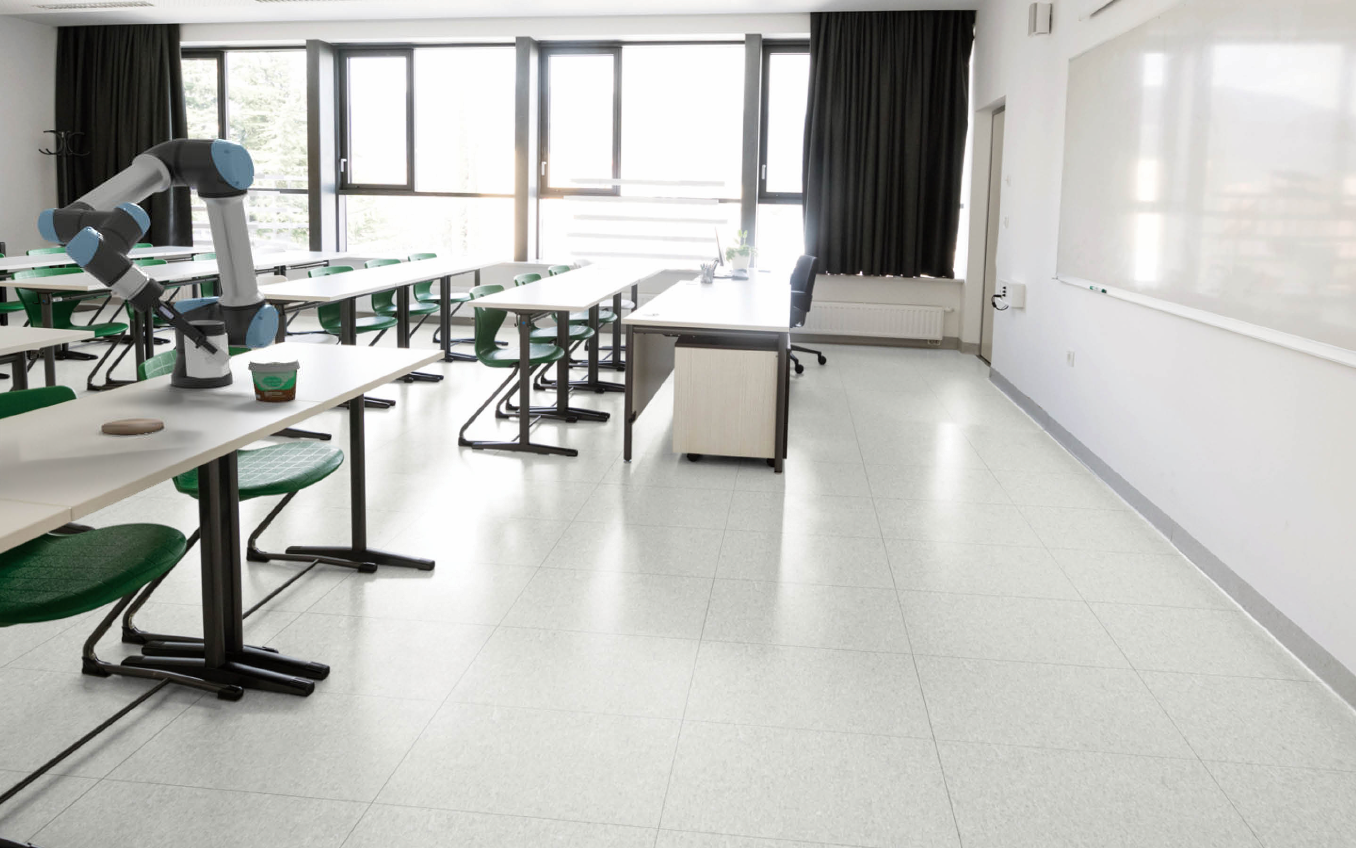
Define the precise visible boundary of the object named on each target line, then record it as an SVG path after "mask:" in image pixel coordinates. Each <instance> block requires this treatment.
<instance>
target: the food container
mask: <svg viewBox="0 0 1356 848" xmlns="http://www.w3.org/2000/svg"><path fill="white" fill-rule="evenodd" d="M247 369H248V370H249V371H251V378H252V384H253V388H254V394H255V400H256V401H257V402H261V403H269V404H270V403H273V404H275V403H277V404H278V403H286V402H292V401H294V400H295V399H296V395H297V394H296V393H297V392H296V391H297V380H298V379H297V377H298V370H299V369H301V365H300V362H299V361H298V359H296V360H295V361H291V362H279V361H278V362H277V361H275V362H274V361H273V362H272V361H271V362H267V363H260V362H253V361H251V360H249V363H248V368H247ZM291 400H292V401H291Z"/></svg>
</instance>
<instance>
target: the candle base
mask: <svg viewBox="0 0 1356 848" xmlns="http://www.w3.org/2000/svg"><path fill="white" fill-rule="evenodd" d="M164 428H165V424H164V421H162V420H159V419H156V418H155V419H154V418H130V419H129V418H126V419H119V420H114V421H109V422H106V423H104V424H102V425H101V432H102V433H103V434H105V435H109V436H111V435H112V436H138V434H141V435H146V434H145V433H148V434H152V432H153V433H157V432H160V431H162V430H163V429H164ZM161 429H162V430H161ZM159 430H160V431H159ZM156 431H157V432H156Z"/></svg>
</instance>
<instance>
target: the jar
mask: <svg viewBox="0 0 1356 848" xmlns="http://www.w3.org/2000/svg"><path fill="white" fill-rule="evenodd" d="M188 323H189V324H190V325H192V326H193V327H194V328H195V329H197V330H198V331H199V332H200V333H201V334H203V335H205V336H206V337H207V338H209V339H210V340H211V341H212V342H213V343H215V344H216V345H217V346H218V347H220V348H221V349H222V350H223V351H224V352H226V353H227V354H228V355H229V347H228V338H227V333H225V323H224V322H223V321H217V320H198V321H189V322H188ZM199 337H200V336H199ZM199 337H198V338H199ZM198 338H197V339H198ZM197 339H196V340H197ZM184 343H185V356H186V369H187V376H190V377H196V378H215V377H223V376H225V375H227V374H229V373H230V370H231V368H229V367H230V360H229V361H228V362H227V363H226V364H225V365H224V366H222V365H221V364H220V363H218V362H217V361H216V360H215V359H213V358H212V357H211V356H210V355H208V354H207V353H206V352H205V351H203V350H202V349H201V348H200V347H199V348H198V349H196V348H195V346H196V344H195V343H194V342H193V341H192V340H191V339H189V338H188V337H187V336H186V335H184ZM229 356H230V355H229Z"/></svg>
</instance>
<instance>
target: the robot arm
mask: <svg viewBox="0 0 1356 848" xmlns="http://www.w3.org/2000/svg"><path fill="white" fill-rule="evenodd" d="M253 162H254V161H253V160H252V157H251V155H250V153H249V151H248V150H247V149H246V148H245V147H244V146H243V144H242V143H240V142H237V141H235V140H227V139H222V138H181V137H180V138H174V139H172V140H167V141H164V142H161V143H159V144H157V145H155V146H153V147H151V148H149V149H147V150H145V151H143V152H142V153H140V154H138V155H137V156H136V157H135V158H133V160H132V161H131V165H130V166H129V167H127V168H125V169H123V170H122V171H120V172H119V173H118V174H116V175H114V176H113V177H111V178H110V179H108V180H107V181H105V182H103V183H101V184H100V185H99V186H97V187H95V188H94V189H92V190H91V191H89V192H88V193H86V194H84V195H83V196H81V197H80V198H79V199H76V200H75V201H74V202H72V203H70V204H69V205H67V206H65V207H64V208H59V207H55V208H46V209H44V210H43V211H41V212H40V213H39V215H38V217H37V229H38V232H39V234H40V236H41V238H43V240H45V241H46V242H49V243H51V244H61V245H65V247H64V251H65V252H64V253H66V255H68V257H70V259H72V260H73V261H74V262H75V264H77V265H78V266H79V267H80V268H82V269H83V270H85V271H86V272H87V273H88V274H90V275H92V277H94V278H95V279H97V280H98V281H99V282H100V283H101V284H103V285H104V286H106V287H107V288H108V289H110V294H111V295H112V296H115V295H116V294H117V296H118V297H119V298H120V299H122V300H123V301H124V300H126V301H127V304H128V305H129V306H130V307H131V308H133V309H134V310H135V311H136V312H138V313H139V314H142V313H145V312H147V311H148V310H149V309H150V308H152V309H154V312H153V314H154V316H156V317H157V318H158V319H160V320H162V321H164V322H165V323H166V324H168V325H169V326H171V327H173V328H174V335H175V349H176V351H175V352H176V357H175V360H174V364H173V368H172V370H171V371H172V372H171V375H170V382H171V385H172V386H174V387H179V388H189V389H191V388H195V389H196V388H199V389H201V388H215V387H222V386H227V385H231V384H233V381H234V379H233V372H232V370H231V368H230V366H229V368H230V373H229V374H227V375H225V376H223V377H215V378H196V377H190V376H187V369H186V356H185V343H184V335H186V336H187V337H188V338H189V339H191V340H192V341H193V342H194V343H195V344H196V346H195V348H196V349H198V348H199V347H200V348H201V349H202V350H203V351H205V352H206V353H207V354H208V355H210V356H211V357H212V358H213V359H215V360H216V361H217V362H218V363H220V364H221V365H222V366H224V365H225V364H226V363H227V362H228V361H229V362H230V359H232V356H231V355H228V354H227V353H226V352H224V351H223V350H222V349H221V348H220V347H218V346H217V345H216V344H215V343H213V342H212V341H211V340H210V339H209V338H207V337H206V336H205V335H203V334H201V333H200V332H199V331H198V330H197V329H195V328H194V327H193V326H192V325H190V324H189V323H188V322H189V321H198V320H217V321H223V322H224V323H225V333H227V338H228V348H229V347H230V348H244V349H245V348H246V349H249V350H250V349H251V350H252V349H264V348H267V347H268V346H270V345H271V344H272V342H273V341H274V340H275V337H276V335H277V334H278V329H279V321H280V320H279V313H278V311H277V309H276V308H275V306H273V305H271V304H267V300H266V296H265V294H264V293H263V292H261V291H260V290H259V289H258V287H259V286H258V283H257V277H256V270H255V265H254V259H253V253H252V248H251V242H250V236H249V230H248V223H247V220H246V219H247V218H246V212H245V208H244V206H245V205H244V201H243V200H244V199H245V197H247V195H248V193H249V192H248V189H249V188H250V187H251V186H252V185H253V182H254V179H255V178H254V176H255V168H254V163H253ZM173 187H174V188H175V187H194V188H196V193H197V196H198V198H199V199H200V200H202V201H203V202H204V203H205V206H206V210H207V211H206V212H207V216H208V220H209V225H210V226H209V227H210V232H211V237H212V238H211V239H212V242H213V248H214V252H215V257H216V263H217V268H218V274H219V279H220V285H221V290H222V293H221V296H206V297H195V298H189V299H179V300H178V301H176V302H175V303H174V304H172V303H171V302H170V301H168V300H165V301H164V300H161V299H160V298H161V297H162V296H163V294H164V293H165V292H166V291H165V290H166V288H165V287H164V286H163V285H162V284H161V283H160V282H158V281H157V280H156V279H154V278H153V277H150V274H149V273H148V272H147V271H145V270H144V269H143V268H142V267H141V266H139V265H138V264H137V263H136V262H134V261H133V260H131V258H130V257H128V256H127V255H128V254H129V252H131V250H132V249H134V247H135V246H136V245H137V244H138V242H140V241H141V239H142V238H144V237H145V234H146V233H147V232H148V230H149V228H150V226H151V220H150V217H149V215H148V214H147V212H146V211H145V209H143V208H142V207H141V206H140V205H138V204H139V203H141V202H142V201H143V200H146V198H148V197H149V196H151V195H153V194H154V193H163V192H164V191H166V190H168V189H170V188H173ZM199 336H200V337H199ZM198 337H199V338H198ZM197 338H198V339H197ZM196 339H197V340H196Z"/></svg>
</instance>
